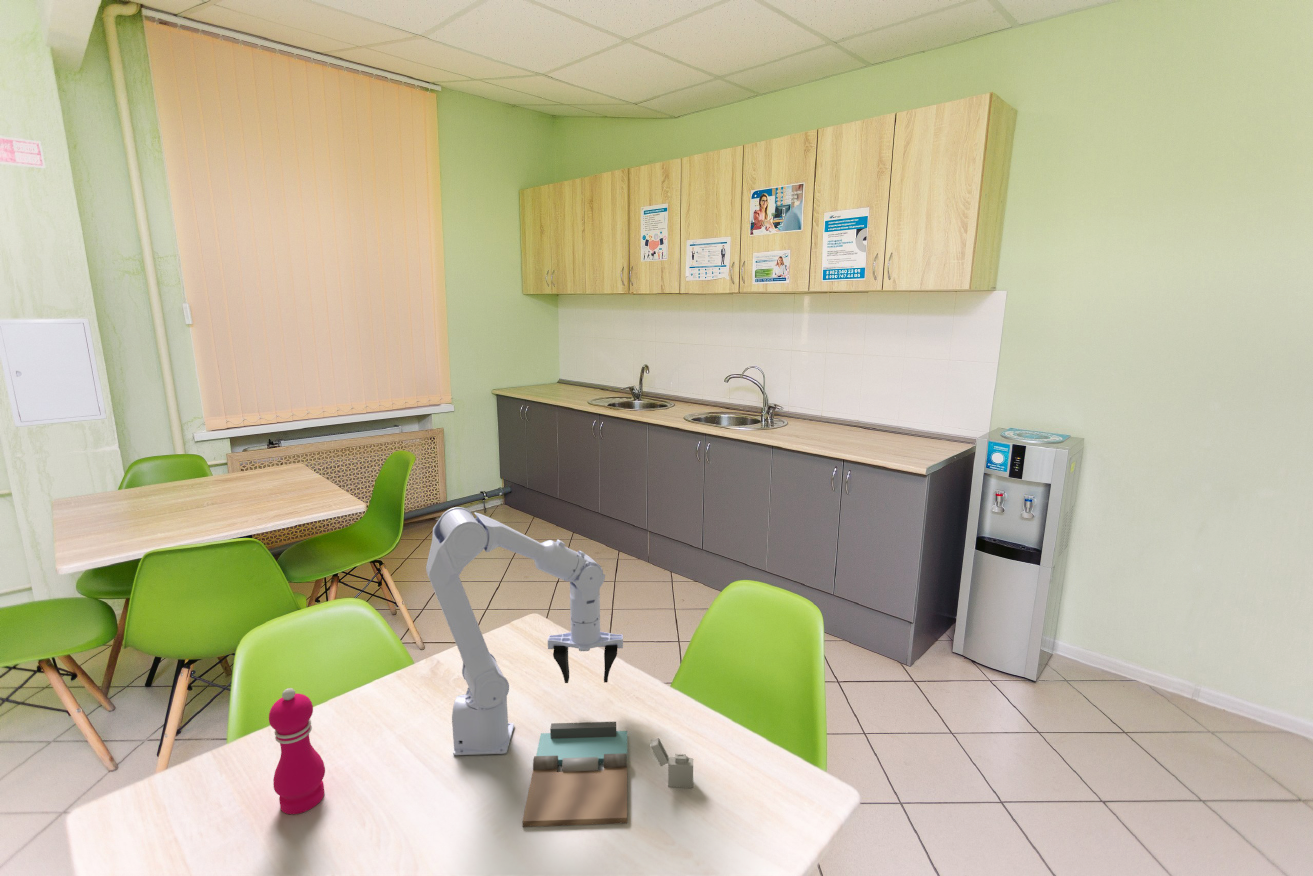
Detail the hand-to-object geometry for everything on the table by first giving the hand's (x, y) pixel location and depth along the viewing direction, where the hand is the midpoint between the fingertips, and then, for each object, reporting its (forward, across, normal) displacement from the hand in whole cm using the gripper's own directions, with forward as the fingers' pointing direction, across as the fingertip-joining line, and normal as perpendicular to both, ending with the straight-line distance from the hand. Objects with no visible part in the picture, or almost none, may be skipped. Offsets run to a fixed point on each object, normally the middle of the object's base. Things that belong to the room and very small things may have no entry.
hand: (586, 679), depth 123 cm
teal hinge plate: (+6, 0, -14) cm, 15 cm away
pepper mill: (+7, -44, -22) cm, 50 cm away
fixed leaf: (+6, 0, -22) cm, 23 cm away
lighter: (+6, +16, -21) cm, 27 cm away
